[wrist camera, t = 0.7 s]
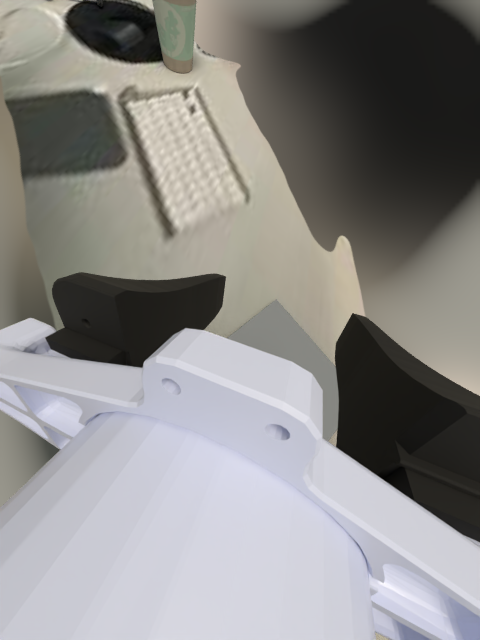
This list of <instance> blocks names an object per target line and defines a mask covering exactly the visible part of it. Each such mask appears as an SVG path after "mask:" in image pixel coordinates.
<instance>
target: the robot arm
mask: <svg viewBox="0 0 480 640" xmlns="http://www.w3.org/2000/svg"><path fill="white" fill-rule="evenodd" d="M225 280H226V276H223V275H219V274H206V275H200V276H194V277H188V278H180V279H172V280H132V279H121V278H113V277H106V276H100V275H94V274H88V273H82V272H81V273H76V274H73V275H69V276H66V277H63V278H60V279H57V280H56V281H55V282H54V285H53V288H52V295H53V299H54V302H55V305H56V307H57V310H58V312H59V315H60V317H61V319H62V322H63V324H64V327H65V328H63V329H61V330H59V331H56V330H55V329H54V328H53V327H51V326H50V325H48V324H45V323H43V322H41V321H38V320H36V319H33V318H29V319H26V320H24V321H21V322H19V323H16V324H14V325H11V326H9V327H6V328H4V329H2V330H0V410H1V411H2V412H4V413H6V414H7V415H9V416H11V417H12V418H14V419H15V420H17V421H19V422H20V423H21V424H23V425H24V426H26V427H27V428H29V429H30V430H32V431H33V432H35V433H37V434H38V435H39V436H41V437H42V438H44V439H45V440H47V441H48V442H50V443H51V444H52V445H54V446H55V447H57V448H58V449H60V451H59V452H58V453H57V454H56V455H55V456H54V457H53V458H52V459H51V460H49V461H48V462H47V463H46V464H45V465H44V466H43V467H42V468H41V469H40V470H39V471H38V472H37V473H36V474H35V475H34V476H33V477H32V478H31V479H30V480H29V481H28V482H27V483H26V484H24V486H22V487H21V488H20V489H19V490H18V491H17V492H16V493H15V494H14V495H13V496H12V497H11V498H10V499H9V500H8V501H7V502H6V503H5V504H4V505H3V506H2V507H0V640H376V636H375V632H376V633H378V634H380V635H382V636H384V637H386V638H388V639H390V640H480V396H478V395H477V394H474V393H473V392H471V391H469V390H467V389H465V388H463V387H461V386H460V385H458V384H456V383H455V382H453V381H451V380H449V379H448V378H446V377H444V376H443V375H441V374H439V373H438V372H436V371H435V370H433V369H431V368H430V367H428V366H427V365H425V364H424V363H422V362H421V361H420V360H418V359H416V358H415V357H414V356H412V355H411V354H410V353H408V352H407V351H406V350H405V349H403V348H402V347H401V346H400V345H398V344H397V343H396V342H395V341H394V340H392V339H391V338H390V337H389V336H388V335H387V334H385V333H384V332H383V331H382V330H381V329H380V328H379V327H378V326H376V325H375V324H374V323H373V322H372V321H370V320H369V319H368V318H366V317H364V316H360V315H357V314H354V313H352V315H351V317H350V319H349V321H348V322H347V324H346V326H345V328H344V330H343V332H342V333H341V335H340V337H339V339H338V341H337V342H336V350H335V364H336V374H337V384H338V396H339V409H338V431H337V444H336V447H335V446H334V445H332V444H331V443H329V442H328V441H326V440H325V439H324V438H322V437H323V390H322V388H321V387H320V385H319V384H318V382H317V381H316V379H315V377H314V376H313V374H312V373H310V372H308V371H307V370H305V369H303V368H302V367H300V366H298V365H297V364H295V363H293V362H292V361H289V360H286V359H283V358H280V357H277V356H275V355H272V354H269V353H266V352H263V351H261V350H258V349H255V348H252V347H249V346H247V345H244V344H241V343H238V342H235V341H232V340H230V339H227V338H224V337H221V336H218V335H216V334H213V333H210V332H207V331H204V329H205V328H206V327H207V326H208V325H209V324H210V322H211V321H212V320H213V319H214V318H215V317H216V315H217V314H218V312H219V311H220V309H221V307H222V304H223V296H224V288H225Z"/></svg>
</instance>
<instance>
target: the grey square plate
mask: <svg viewBox="0 0 480 640" xmlns="http://www.w3.org/2000/svg"><path fill="white" fill-rule="evenodd" d="M227 339H230V340H232V341H235V342H238V343H241V344H244V345H247V346H249V347H252V348H255V349H258V350H261V351H263V352H266V353H269V354H272V355H275V356H277V357H280V358H283V359H286V360H289V361H292V362H293V363H295V364H297V365H298V366H300V367H302V368H303V369H305V370H307V371H308V372H310V373H312V374H313V376H314V377H315V379H316V381H317V382H318V384H319V385H320V387H321V388H322V390H323V437H322V438H324V439H325V440H326V441H329V439H330V438H331V437H332V435H333V434H334V433H335V431H336V430H337V429H338V409H339V396H338V384H337V374H336V367H335V366H334V364H333V363H332V362H331V361H330V360H329V359H328V358H327V356H326V355H325V354H324V353H323V352H322V351H321V350H320V348H319V347H318V346H317V345H316V344H315V343H314V342H313V341H312V339H311V338H310V337H309V336H308V335H307V334H306V333H305V331H304V330H303V329H302V328H301V327H300V326H299V325H298V323H297V322H296V321H295V320H294V319H293V318H292V317H291V315H290V314H289V313H288V312H287V311H286V310H285V309H284V307H283V306H282V305H281V304H280V303H279V302H278V301H277V299H276V300H275V301H273V302H272V303H271V304H270V305H268V306H267V307H266V308H265V309H263V310H262V311H261V312H260V313H258V314H257V315H256V316H254V317H253V318H252V319H251V320H249V321H248V322H247V323H246V324H244V325H243V326H242V327H241V328H239V329H238V330H237V331H236V332H234V333H233V334H232V335H230V336H229V337H228V338H227Z"/></svg>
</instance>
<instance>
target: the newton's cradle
mask: <svg viewBox="0 0 480 640" xmlns="http://www.w3.org/2000/svg"><path fill="white" fill-rule="evenodd" d="M85 1H91V2H97V4H98V5H99V6H100V7H102V5H103V3H102V0H85Z"/></svg>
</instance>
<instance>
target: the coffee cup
mask: <svg viewBox="0 0 480 640" xmlns="http://www.w3.org/2000/svg"><path fill="white" fill-rule="evenodd" d="M153 6H154V11H155V17H156V23H157V28H158V34H159V39H160V45H161V50H162V56H163V61H164V64H165V65H166V66H167V67H168V68H169V69H170V70H172V71H175V72H178V73H187V72H190V71H191V69H192V61H193V45H194V29H195V14H196V0H153Z"/></svg>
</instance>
